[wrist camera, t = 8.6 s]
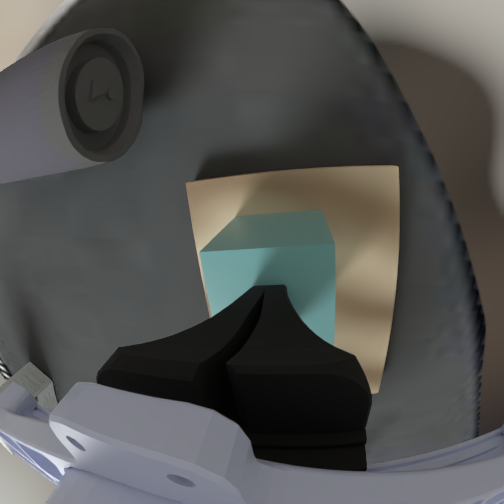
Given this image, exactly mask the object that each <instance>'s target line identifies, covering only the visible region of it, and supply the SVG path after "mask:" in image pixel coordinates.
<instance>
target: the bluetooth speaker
mask: <svg viewBox="0 0 504 504" xmlns="http://www.w3.org/2000/svg"><path fill="white" fill-rule="evenodd" d="M143 95H144V71H143V66H142V63H141V59H140V57H139V54H138V52H137V50H136V48H135V46H134V45H133V43H132V42H131V41H130V39H129V38H128V37H127V36H126V35H125V34H124V33H122V32H121V31H119V30H116V29H113V28H105V27H100V28H94V29H89V30H86V31H82V32H78V33H75V34H72V35H69V36H66V37H63V38H61V39H58V40H56V41H54V42H52V43H50V44H48V45H46V46H44V47H42V48H40V49H38V50H36V51H34V52H32V53H30V54H28V55H27V56H25V57H23V58H22V59H20V60H18V61H17V62H15V63H13V64H12V65H10V66H9V67H7V68H6V69H4V70H3V71H1V72H0V184H2V183H9V182H14V181H20V180H25V179H30V178H35V177H41V176H46V175H51V174H56V173H62V172H67V171H73V170H78V169H83V168H87V167H91V166H95V165H99V164H103V163H106V162H110V161H113V160H115V159H118V158H119V157H121V156H122V155H123V154H124V153H125V152H126V151H127V150H128V149H129V148H130V147H131V145H132V144H133V142H134V140H135V139H136V137H137V134H138V132H139V130H140V126H141V122H142V109H143Z"/></svg>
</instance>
